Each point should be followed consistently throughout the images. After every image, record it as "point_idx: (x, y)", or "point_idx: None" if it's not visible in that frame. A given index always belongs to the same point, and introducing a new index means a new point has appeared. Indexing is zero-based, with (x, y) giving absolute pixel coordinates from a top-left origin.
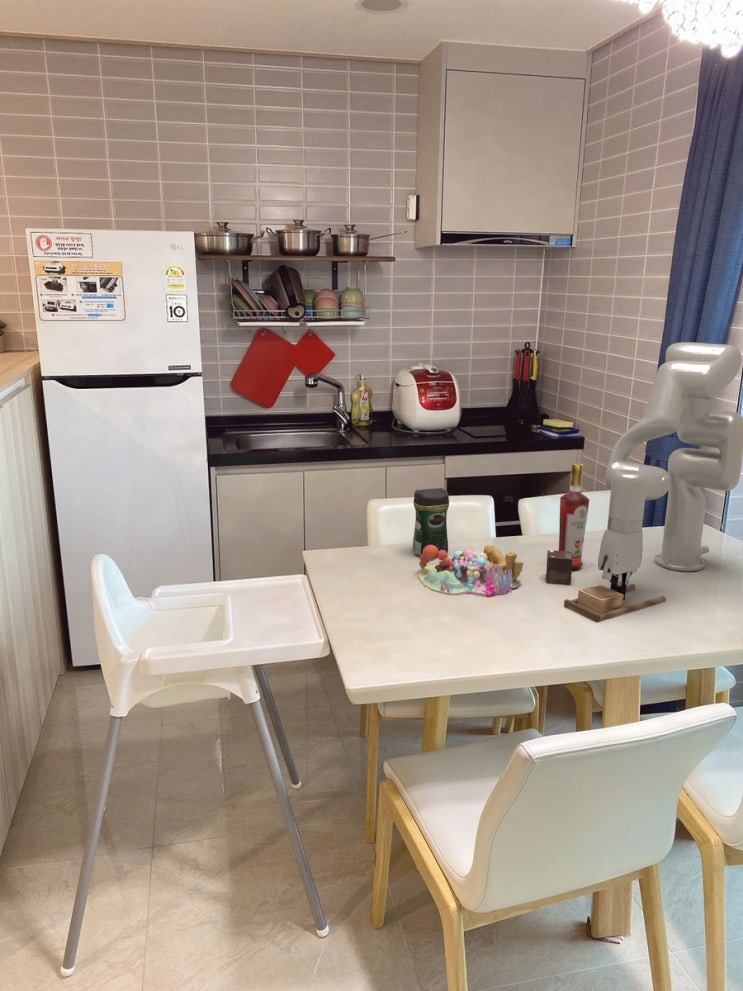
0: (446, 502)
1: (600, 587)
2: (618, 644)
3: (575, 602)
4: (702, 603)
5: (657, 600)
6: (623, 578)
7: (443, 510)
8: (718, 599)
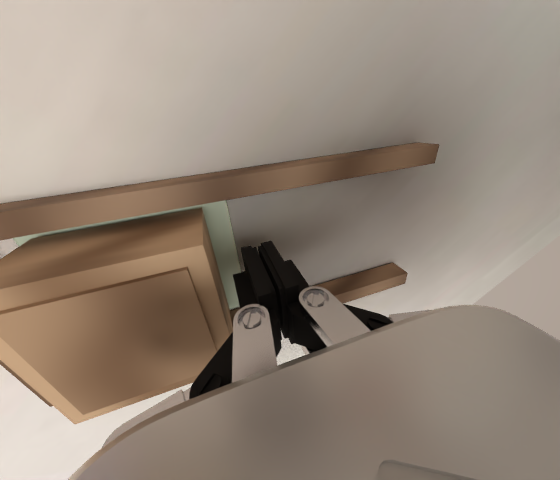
0: None
1: (166, 298)
2: (80, 458)
3: (3, 236)
4: (446, 287)
5: (371, 292)
6: (316, 344)
7: None
8: (485, 276)
